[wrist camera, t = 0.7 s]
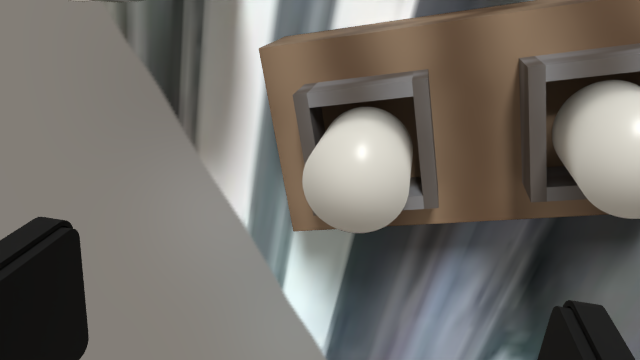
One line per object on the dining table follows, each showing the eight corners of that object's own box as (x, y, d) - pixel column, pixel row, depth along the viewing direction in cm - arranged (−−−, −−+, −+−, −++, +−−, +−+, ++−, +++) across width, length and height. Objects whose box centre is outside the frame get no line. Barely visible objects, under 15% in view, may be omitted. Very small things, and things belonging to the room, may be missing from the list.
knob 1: (408, 101, 28) (403, 127, 23) (416, 189, 29) (414, 230, 25) (315, 111, 29) (294, 138, 24) (329, 195, 30) (311, 235, 26)
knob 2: (665, 73, 25) (718, 97, 20) (658, 173, 26) (706, 215, 22) (551, 86, 26) (577, 111, 21) (552, 180, 28) (575, 221, 23)
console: (675, -21, 31) (764, -17, 23) (662, 171, 35) (733, 233, 27) (284, 36, 36) (242, 56, 28) (312, 195, 40) (281, 253, 32)
